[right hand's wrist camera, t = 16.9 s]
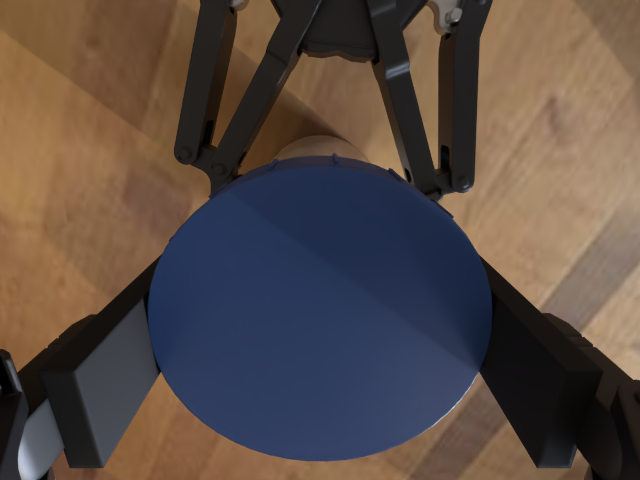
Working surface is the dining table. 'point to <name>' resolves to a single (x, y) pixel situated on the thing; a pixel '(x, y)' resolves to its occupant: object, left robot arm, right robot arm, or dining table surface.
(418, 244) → the lid
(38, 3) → the dining table surface
